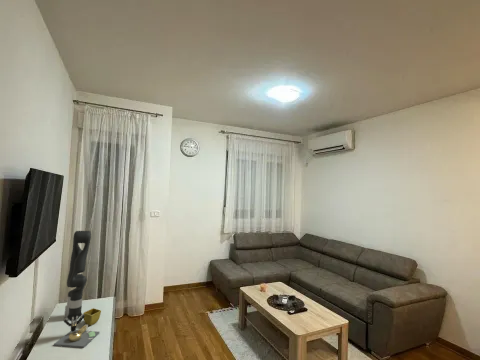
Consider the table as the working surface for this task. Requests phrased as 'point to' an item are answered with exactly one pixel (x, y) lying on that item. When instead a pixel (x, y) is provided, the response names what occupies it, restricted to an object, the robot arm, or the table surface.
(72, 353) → the table surface
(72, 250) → the robot arm
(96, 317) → the flower pot
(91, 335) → the board
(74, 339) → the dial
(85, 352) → the table surface
